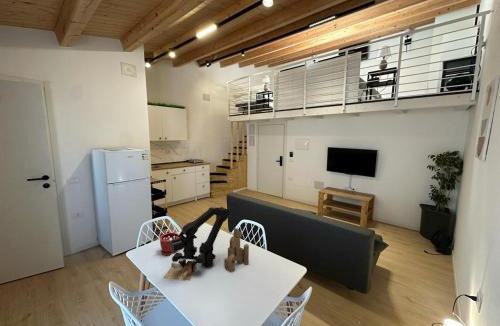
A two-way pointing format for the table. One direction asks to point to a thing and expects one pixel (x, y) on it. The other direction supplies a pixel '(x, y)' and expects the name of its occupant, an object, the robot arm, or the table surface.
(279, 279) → the table surface
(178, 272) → the board
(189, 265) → the brown block with peg
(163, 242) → the plant pot
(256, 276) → the table surface
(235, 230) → the wooden toy
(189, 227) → the robot arm
